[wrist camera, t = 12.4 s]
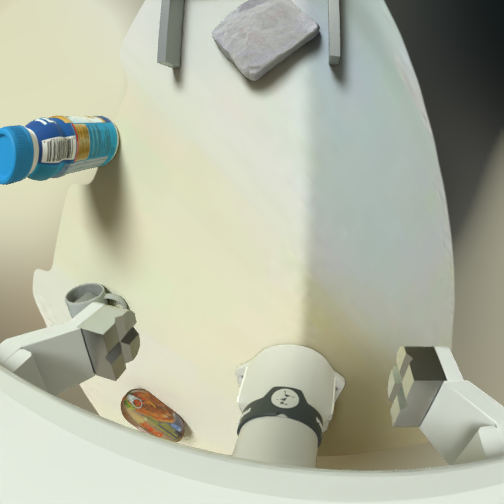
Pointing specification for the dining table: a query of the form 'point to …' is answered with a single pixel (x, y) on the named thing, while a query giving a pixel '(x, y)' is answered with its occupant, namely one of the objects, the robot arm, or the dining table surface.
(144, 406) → the tin
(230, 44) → the stone block
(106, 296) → the ceramic mug
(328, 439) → the dining table surface
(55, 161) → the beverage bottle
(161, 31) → the box
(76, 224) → the dining table surface
